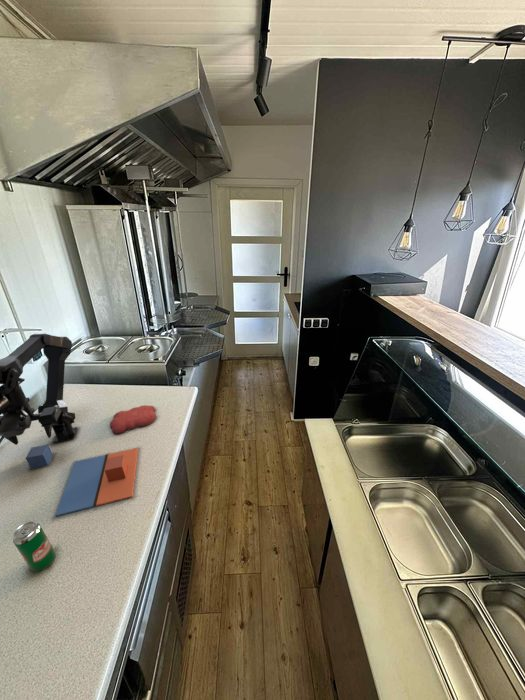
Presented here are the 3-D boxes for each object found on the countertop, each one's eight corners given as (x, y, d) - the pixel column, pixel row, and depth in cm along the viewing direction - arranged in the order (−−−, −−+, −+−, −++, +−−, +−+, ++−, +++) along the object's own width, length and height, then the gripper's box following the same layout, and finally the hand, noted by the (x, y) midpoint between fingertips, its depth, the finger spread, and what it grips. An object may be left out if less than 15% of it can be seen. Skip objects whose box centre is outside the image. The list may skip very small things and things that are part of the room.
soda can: (43, 574, 67) (23, 544, 62) (25, 570, 68) (4, 539, 63) (61, 552, 71) (44, 521, 66) (44, 548, 72) (26, 517, 67)
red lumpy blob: (110, 437, 108) (109, 433, 107) (110, 416, 119) (108, 412, 118) (158, 422, 115) (157, 418, 114) (153, 404, 126) (153, 400, 125)
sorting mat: (75, 462, 97) (74, 461, 97) (138, 449, 102) (137, 447, 102) (55, 516, 80) (54, 515, 79) (132, 497, 85) (131, 495, 84)
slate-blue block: (36, 458, 99) (31, 447, 97) (53, 454, 100) (48, 444, 98) (30, 469, 95) (25, 458, 93) (48, 465, 96) (42, 454, 94)
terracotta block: (111, 469, 93) (107, 458, 91) (127, 465, 95) (124, 454, 92) (108, 481, 89) (104, 470, 87) (125, 477, 90) (122, 466, 88)
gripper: (-40, 425, 77) (-14, 466, 84) (40, 411, 82) (59, 451, 89) (-18, 401, 86) (4, 440, 93) (53, 390, 92) (68, 427, 98)
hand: (33, 440), depth 93 cm, fingers open, 9 cm apart
